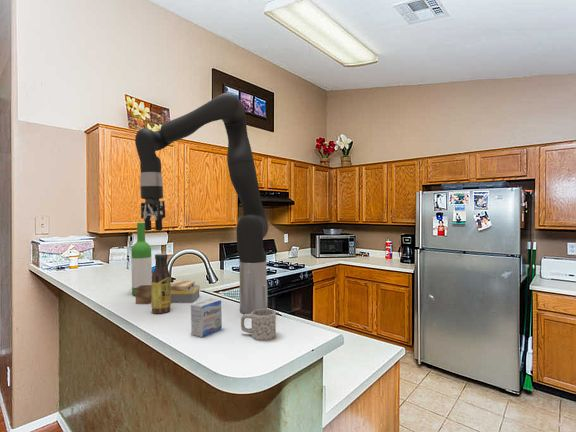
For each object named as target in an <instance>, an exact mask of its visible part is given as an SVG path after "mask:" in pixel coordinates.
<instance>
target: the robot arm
mask: <svg viewBox="0 0 576 432" xmlns="http://www.w3.org/2000/svg"><path fill="white" fill-rule="evenodd" d="M246 117H247V116H246V109H245V106H244V103H242V101H241V100H240V99H239V98H238V97H237V96H236V95H235V94H233V93H230V92H224V93H222V94H219V95H217V96H216V97H214V98H212V99H211V100H209V101H207V102H206V103H205V104H202V105H201V106H199V107H197V108H196V109H194V110H192V111H190V112H188V113H186V114H184V115H182V116H178V117H177V118H174V119H172V120H169V121H166V122H164V123H163V124H162V125H161V126H160V129H158V130H156V131H154V130H152V129H149V128H145V127H143V128H140V129H139V130H138V131H137V132H136V134H135V138H134V141H135V142H134V143H135V148H136V152H137V156H138V158H139V162H140V163H139V166H140V177H139V183H140V184H139V185H140V186H139V187H140V198H141V200H145V201H144V202H141V203H140V218H141V219H142V220H143V221H144V222H143V223H145V232H146V231H152V217H154V224H155V225H154V227H155V229H154V230H155V231H156V232H157V231H159V232H161V231H162V230H163V220H164V219H165V218H166V205H165V204H166V203H165V200H161V199H163V198H164V186H163V185H164V184H163V174H162V161H161V158H160V157H159V156H157V154H156V153H157V152H158V151H161V150H163V149H165V148H167V147H168V146H169V145H171V144H172V143H175V142H177V141H180V140H182V139H184V138H187V137H189V136H191V135H193V134H194V133H196V132H197V131H198V130H199V129H200V128H202V127H203V126H204V125H207V124H210V123H213V122H215V121H222V122H223V124H224V128H225V132H226V136H227V155H226V160H227V162H226V163H227V168H228V173H229V177H230V181H231V183H232V186H233V188H234V191H235V192H236V194H237V196H238V199H239V201H240V204H241V208H242V215H243V216H242V217H240V218H239V220H238V221H237V225H236V249H237V250H236V251H237V255H238V257H239V312H240V313H241V314H242V315H244V314H251V312H252V311H254V310H258V309H268V281H267V253H266V251H265V248H264V238H265V237H266V236H267V234H268V230H269V223H268V220H267V217H266V213H265V211H264V207H263V203H262V198H261V192H260V187H259V183H258V175H257V171H256V170H257V169H256V164H255V160H254V156H253V152H252V148H251V144H250V139H249V137H248V136H249V135H248V128H247V119H246Z"/></svg>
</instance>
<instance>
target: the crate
mask: <svg viewBox="0 0 576 432" xmlns="http://www.w3.org/2000/svg"><path fill="white" fill-rule="evenodd" d="M134 296H135V305H149V304H150V305H151V298H152V285H141V286H139V287H137V288H135V295H134Z"/></svg>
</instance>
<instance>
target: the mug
mask: <svg viewBox="0 0 576 432" xmlns="http://www.w3.org/2000/svg"><path fill="white" fill-rule="evenodd" d="M276 315H277V314H276V311H275V310H274V309H271V308H267V309H258V310H254V311H252V312H251V314H242V315H241V317H240V328H241V331H242V332H245V333H246V334H247V333H248V334H251V338H252V340H256V341H259V342H260V341H261V342H264V341H266V342H267V341H271V340H273V339H275V338H276V337H277V336H276V335H277V331H276V324H277V323H276V321H277V319H276ZM245 319H251V328H247V327H245Z"/></svg>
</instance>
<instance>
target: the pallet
mask: <svg viewBox="0 0 576 432" xmlns="http://www.w3.org/2000/svg"><path fill="white" fill-rule="evenodd" d="M194 285H195V280H174V281H173V282H171V291H187V290H188V288H191V287H192V286H194Z"/></svg>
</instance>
